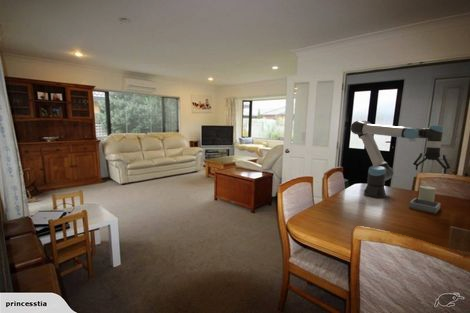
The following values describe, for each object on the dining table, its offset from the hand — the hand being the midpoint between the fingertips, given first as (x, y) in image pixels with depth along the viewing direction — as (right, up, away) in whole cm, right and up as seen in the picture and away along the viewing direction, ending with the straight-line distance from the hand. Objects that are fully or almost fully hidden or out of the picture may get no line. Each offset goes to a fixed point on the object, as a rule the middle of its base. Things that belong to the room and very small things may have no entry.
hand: (429, 176), depth 161 cm
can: (0, -20, +3) cm, 20 cm away
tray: (-11, -21, -9) cm, 26 cm away
